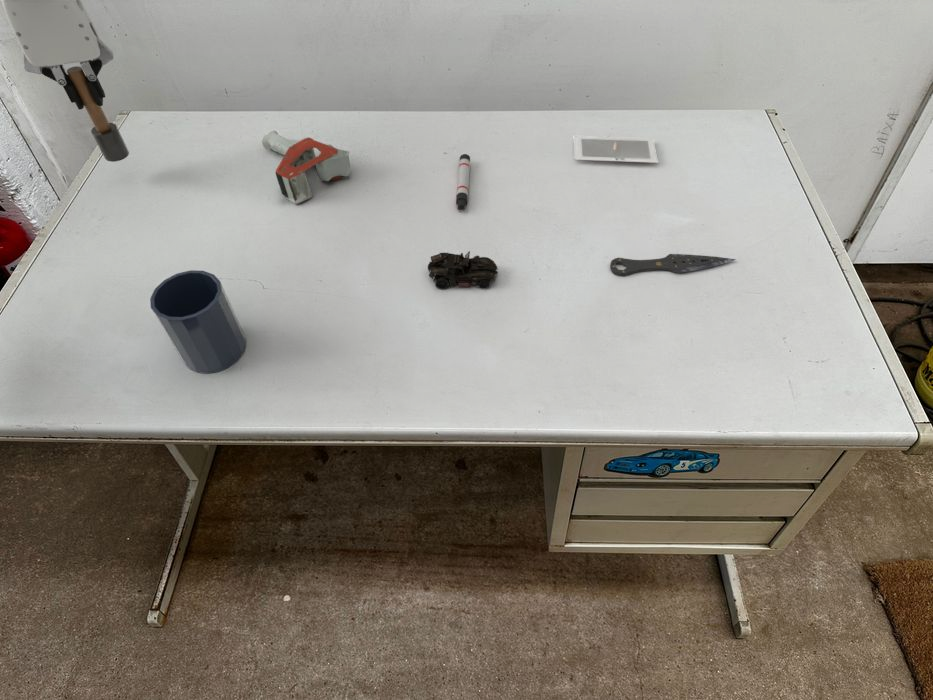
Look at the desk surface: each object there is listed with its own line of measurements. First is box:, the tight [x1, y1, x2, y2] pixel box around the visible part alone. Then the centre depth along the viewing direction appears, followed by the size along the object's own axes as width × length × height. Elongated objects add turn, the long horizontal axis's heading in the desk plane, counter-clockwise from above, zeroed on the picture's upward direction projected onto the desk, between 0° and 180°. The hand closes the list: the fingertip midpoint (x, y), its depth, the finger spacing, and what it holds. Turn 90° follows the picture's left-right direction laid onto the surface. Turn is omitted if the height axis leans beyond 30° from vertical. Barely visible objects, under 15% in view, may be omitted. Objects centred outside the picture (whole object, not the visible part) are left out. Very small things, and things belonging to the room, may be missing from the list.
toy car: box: [427, 250, 498, 290], centre depth 92 cm, size 6×12×4 cm, turn 85°
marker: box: [455, 153, 471, 213], centre depth 107 cm, size 15×2×2 cm, turn 178°
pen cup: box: [149, 269, 247, 374], centre depth 81 cm, size 9×9×11 cm
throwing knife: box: [609, 253, 737, 277], centre depth 94 cm, size 4×20×1 cm, turn 95°
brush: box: [66, 65, 130, 163], centre depth 100 cm, size 4×4×15 cm
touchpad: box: [572, 134, 659, 164], centre depth 113 cm, size 8×15×2 cm, turn 86°
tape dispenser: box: [261, 130, 351, 205], centre depth 109 cm, size 18×5×20 cm
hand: (90, 102), depth 98 cm, fingers closed on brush, 2 cm apart
